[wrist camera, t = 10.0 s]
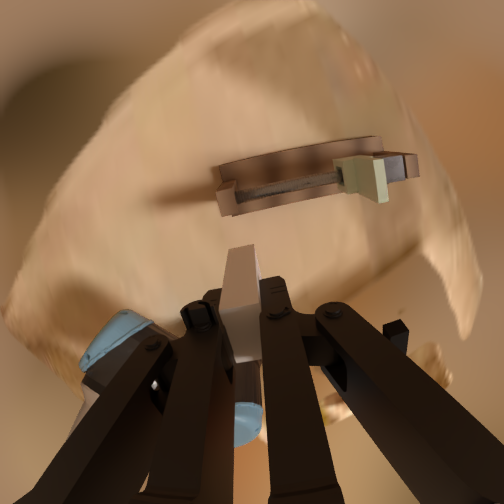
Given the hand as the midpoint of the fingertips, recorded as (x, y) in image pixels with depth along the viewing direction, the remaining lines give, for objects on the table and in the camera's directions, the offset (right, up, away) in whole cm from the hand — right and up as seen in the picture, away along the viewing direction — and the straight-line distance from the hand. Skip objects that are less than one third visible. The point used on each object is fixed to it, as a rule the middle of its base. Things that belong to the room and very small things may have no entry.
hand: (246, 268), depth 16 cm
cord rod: (+9, +10, +17) cm, 22 cm away
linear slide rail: (+9, +13, +25) cm, 30 cm away
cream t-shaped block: (+13, +11, +17) cm, 24 cm away
